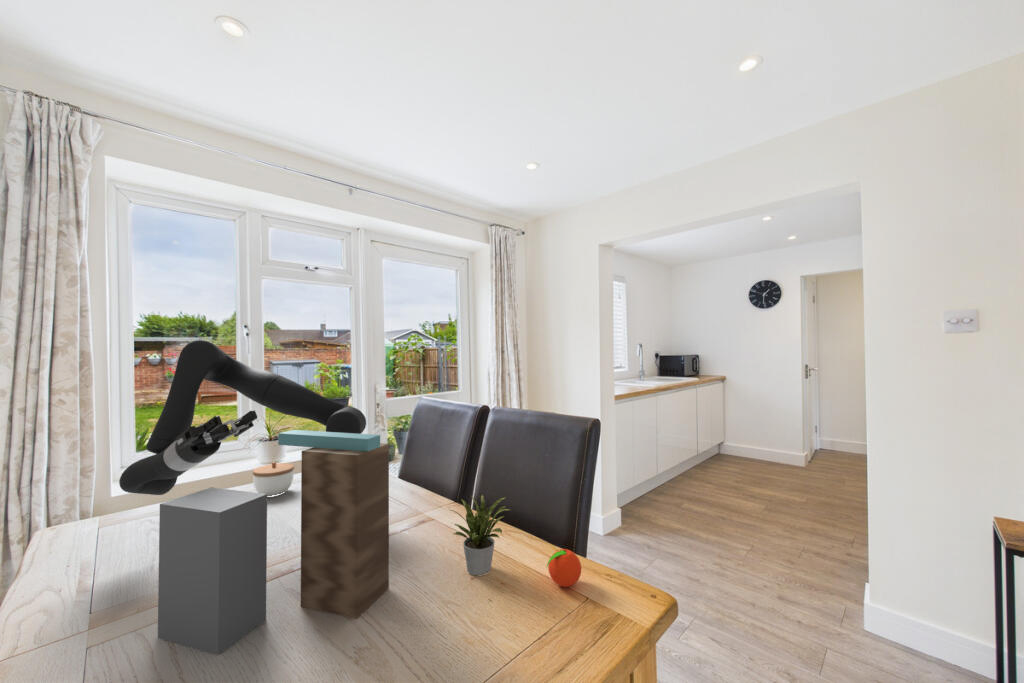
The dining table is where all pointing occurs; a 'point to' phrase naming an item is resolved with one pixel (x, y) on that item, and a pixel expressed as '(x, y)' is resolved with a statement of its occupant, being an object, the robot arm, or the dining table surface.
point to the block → (329, 440)
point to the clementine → (564, 567)
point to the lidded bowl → (273, 478)
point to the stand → (344, 529)
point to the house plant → (479, 537)
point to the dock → (212, 568)
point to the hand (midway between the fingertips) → (238, 416)
